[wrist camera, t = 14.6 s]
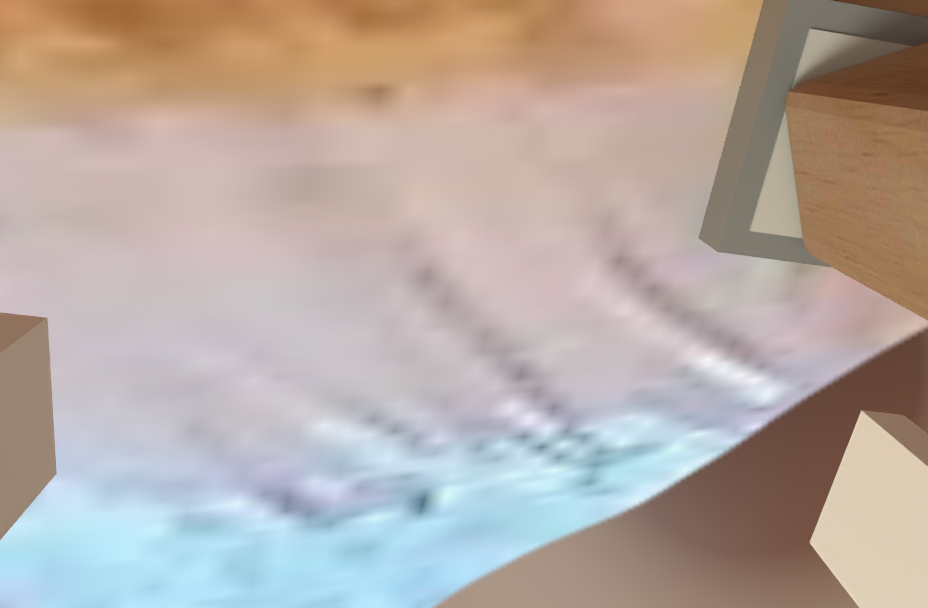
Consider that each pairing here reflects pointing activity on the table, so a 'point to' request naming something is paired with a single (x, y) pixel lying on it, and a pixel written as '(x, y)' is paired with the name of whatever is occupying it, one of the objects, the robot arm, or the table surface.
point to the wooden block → (866, 172)
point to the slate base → (765, 123)
